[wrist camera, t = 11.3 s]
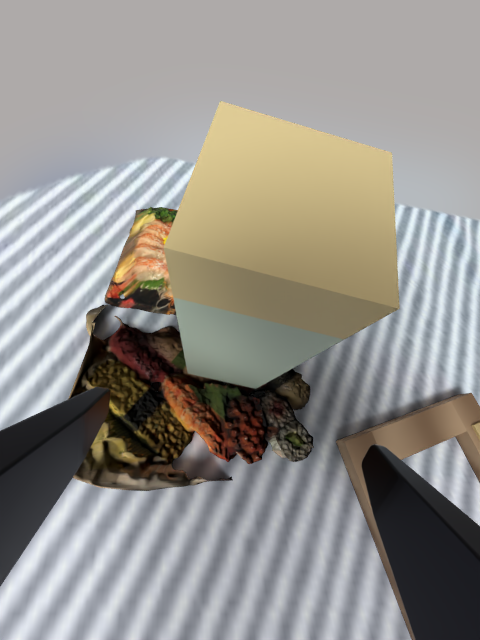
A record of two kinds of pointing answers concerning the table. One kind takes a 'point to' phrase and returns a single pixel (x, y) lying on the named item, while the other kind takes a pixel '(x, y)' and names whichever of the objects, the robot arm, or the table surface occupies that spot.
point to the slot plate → (412, 451)
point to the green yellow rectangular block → (279, 246)
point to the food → (172, 386)
